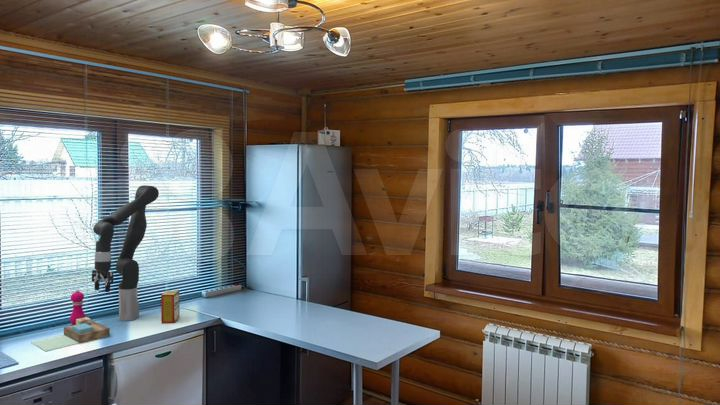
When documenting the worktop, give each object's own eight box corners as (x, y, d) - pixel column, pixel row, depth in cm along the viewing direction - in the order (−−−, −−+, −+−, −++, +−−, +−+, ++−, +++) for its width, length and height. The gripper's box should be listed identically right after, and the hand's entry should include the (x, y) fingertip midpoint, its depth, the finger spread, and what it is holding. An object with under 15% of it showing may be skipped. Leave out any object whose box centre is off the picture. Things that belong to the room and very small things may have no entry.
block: (86, 322, 249) (86, 317, 249) (90, 324, 246) (90, 318, 246) (76, 325, 245) (75, 319, 245) (80, 327, 242) (80, 321, 242)
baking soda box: (173, 323, 263) (173, 294, 262) (161, 323, 263) (161, 294, 262) (179, 318, 272) (179, 290, 271) (167, 318, 272) (167, 290, 271)
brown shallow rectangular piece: (93, 328, 252) (93, 321, 252) (109, 336, 241) (109, 328, 241) (63, 335, 242) (63, 327, 241) (79, 343, 230) (78, 335, 230)
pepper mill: (71, 325, 257) (70, 288, 256) (87, 324, 260) (86, 287, 259) (68, 329, 250) (67, 291, 249) (84, 328, 253) (83, 290, 252)
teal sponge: (85, 327, 242) (85, 323, 242) (93, 330, 236) (93, 326, 236) (72, 330, 237) (72, 326, 237) (79, 333, 232) (79, 329, 232)
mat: (63, 335, 242) (63, 334, 242) (79, 343, 230) (79, 342, 230) (31, 342, 231) (31, 342, 231) (45, 351, 219) (45, 350, 219)
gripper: (118, 260, 256) (117, 291, 256) (100, 258, 263) (100, 288, 263) (105, 262, 249) (104, 293, 250) (87, 259, 256) (86, 290, 256)
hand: (102, 291), depth 256 cm, fingers open, 8 cm apart
